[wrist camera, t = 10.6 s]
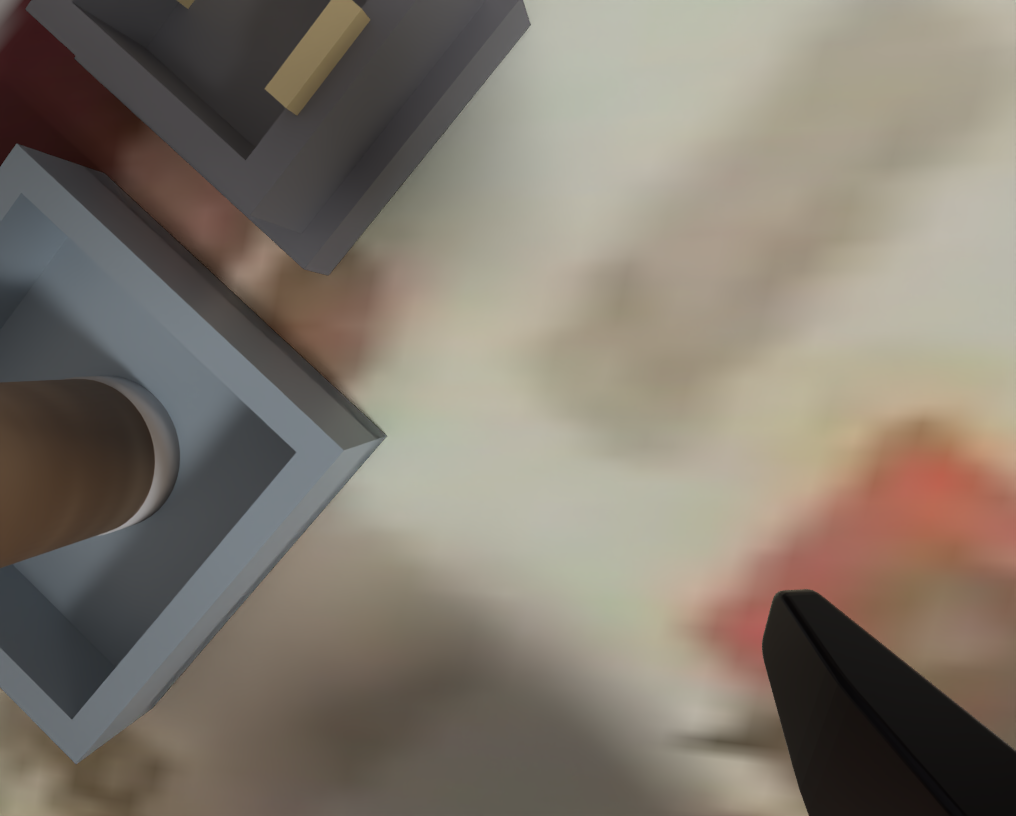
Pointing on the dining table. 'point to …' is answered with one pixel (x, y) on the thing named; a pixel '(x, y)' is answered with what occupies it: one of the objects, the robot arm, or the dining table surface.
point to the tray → (202, 440)
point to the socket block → (294, 95)
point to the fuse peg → (80, 461)
